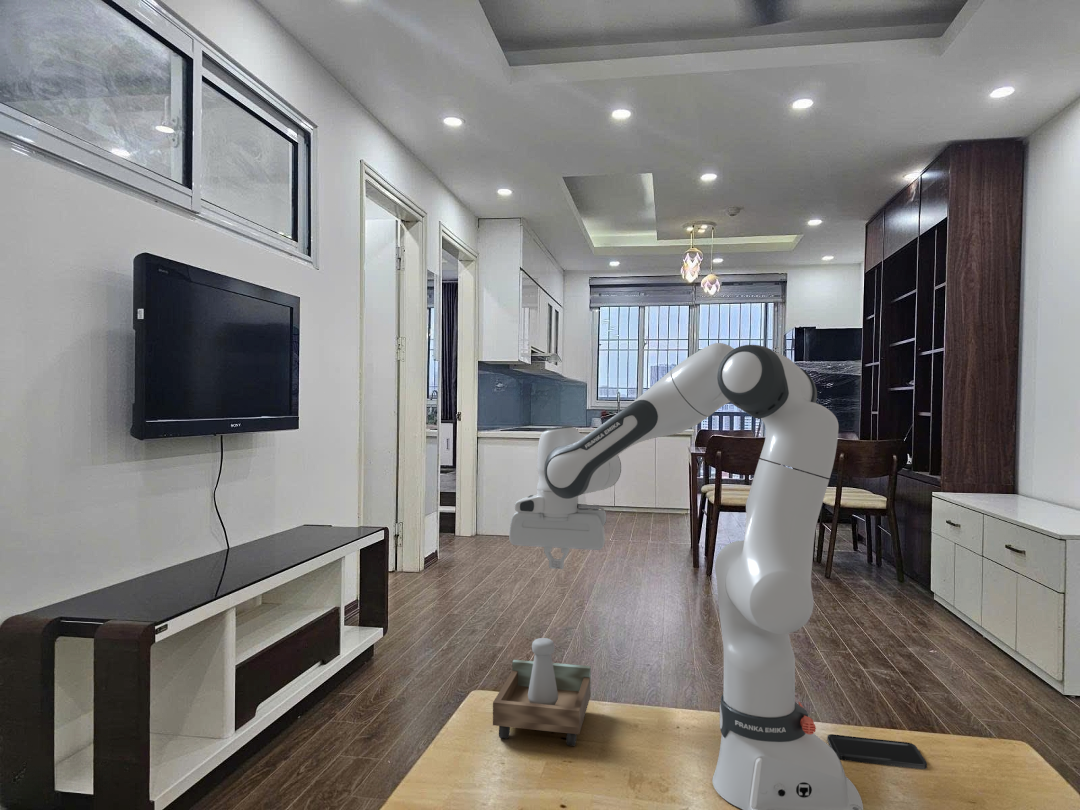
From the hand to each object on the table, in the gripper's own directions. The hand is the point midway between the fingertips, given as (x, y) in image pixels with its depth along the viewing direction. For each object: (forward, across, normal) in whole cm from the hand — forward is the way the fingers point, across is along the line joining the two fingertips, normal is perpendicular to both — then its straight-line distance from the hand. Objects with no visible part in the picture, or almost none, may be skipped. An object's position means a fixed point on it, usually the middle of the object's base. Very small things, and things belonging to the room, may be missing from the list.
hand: (556, 568), depth 141 cm
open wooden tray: (+27, 0, +13) cm, 30 cm away
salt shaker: (+23, 0, +15) cm, 28 cm away
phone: (+28, -60, +10) cm, 67 cm away
